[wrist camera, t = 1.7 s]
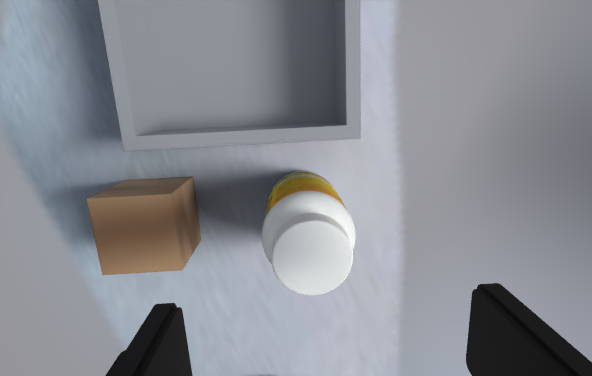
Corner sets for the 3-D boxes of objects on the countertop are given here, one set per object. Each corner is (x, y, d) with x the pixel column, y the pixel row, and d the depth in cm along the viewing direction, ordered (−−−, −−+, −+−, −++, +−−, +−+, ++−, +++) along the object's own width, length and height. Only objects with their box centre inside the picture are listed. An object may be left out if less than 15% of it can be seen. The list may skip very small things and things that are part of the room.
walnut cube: (201, 239, 26) (182, 270, 21) (136, 243, 26) (102, 275, 21) (193, 176, 25) (171, 194, 20) (124, 180, 25) (86, 198, 20)
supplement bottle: (343, 229, 26) (375, 298, 17) (276, 243, 26) (271, 319, 17) (330, 162, 25) (358, 197, 16) (260, 177, 25) (245, 221, 16)
